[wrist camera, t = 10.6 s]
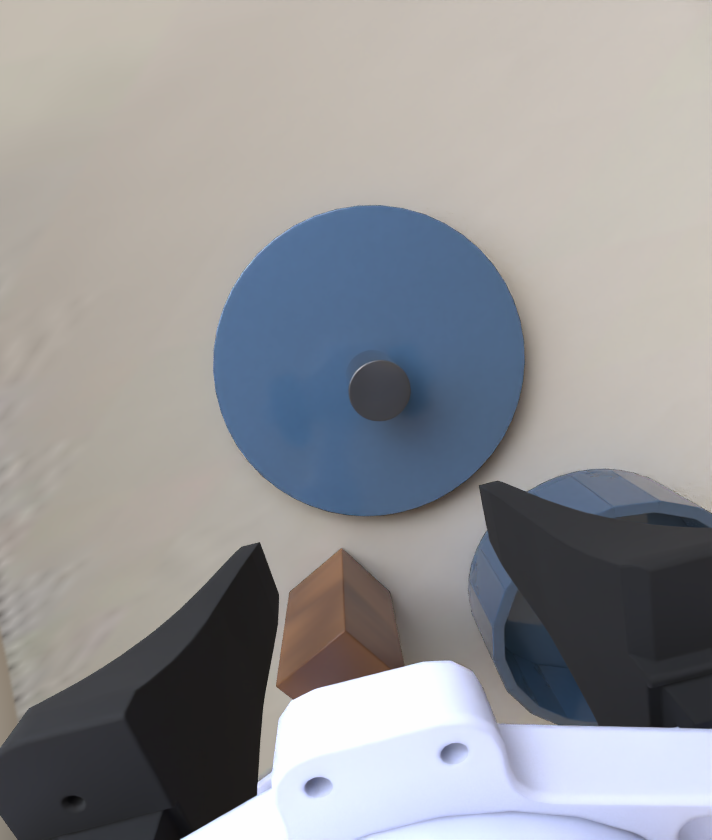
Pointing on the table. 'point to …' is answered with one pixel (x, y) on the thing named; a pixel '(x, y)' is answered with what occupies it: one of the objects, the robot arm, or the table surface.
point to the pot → (517, 622)
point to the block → (337, 628)
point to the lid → (368, 360)
